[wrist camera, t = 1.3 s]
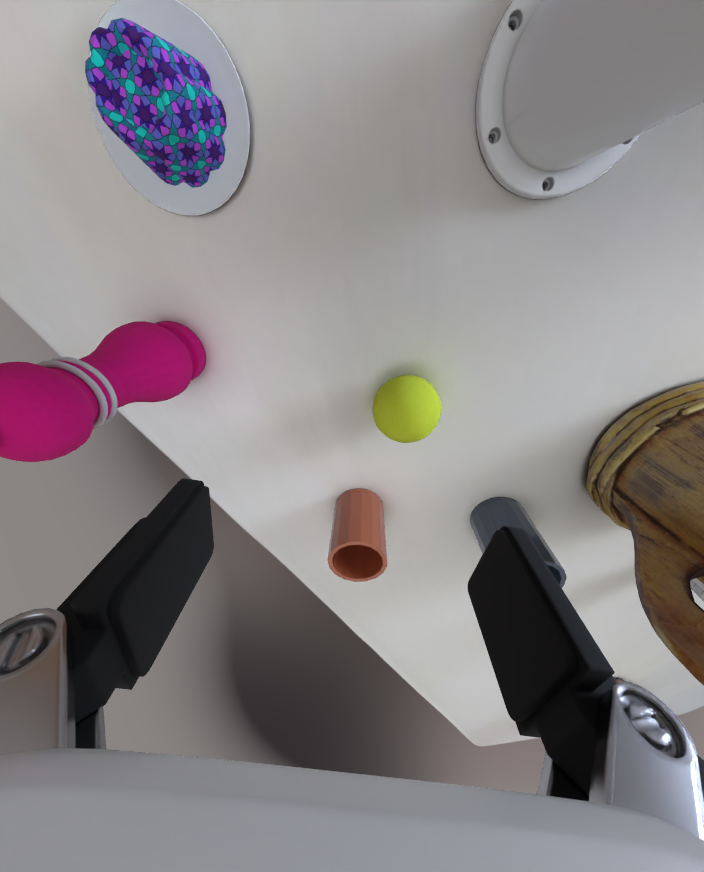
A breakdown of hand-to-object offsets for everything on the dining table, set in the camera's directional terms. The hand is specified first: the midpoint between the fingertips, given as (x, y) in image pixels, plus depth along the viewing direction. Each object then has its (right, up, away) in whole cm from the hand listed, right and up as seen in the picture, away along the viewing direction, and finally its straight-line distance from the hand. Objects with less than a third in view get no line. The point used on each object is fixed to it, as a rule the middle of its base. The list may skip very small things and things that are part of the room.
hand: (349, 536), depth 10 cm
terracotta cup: (+1, -7, +32) cm, 32 cm away
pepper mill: (-19, +12, +22) cm, 32 cm away
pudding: (-14, +28, +14) cm, 34 cm away
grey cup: (+20, -8, +31) cm, 38 cm away
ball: (+6, +6, +21) cm, 22 cm away
